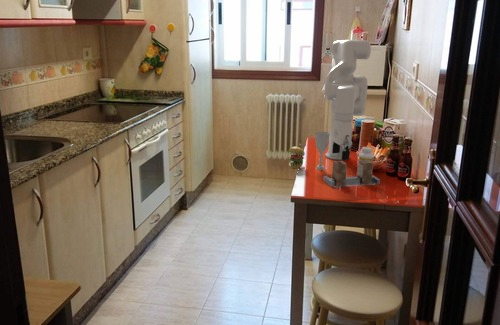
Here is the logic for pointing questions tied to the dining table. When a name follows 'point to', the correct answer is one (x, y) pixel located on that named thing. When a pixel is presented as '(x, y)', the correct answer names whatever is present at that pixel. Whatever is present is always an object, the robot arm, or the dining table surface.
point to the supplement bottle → (366, 154)
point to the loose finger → (339, 172)
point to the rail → (351, 181)
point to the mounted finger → (365, 170)
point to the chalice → (321, 146)
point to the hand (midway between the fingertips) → (340, 156)
